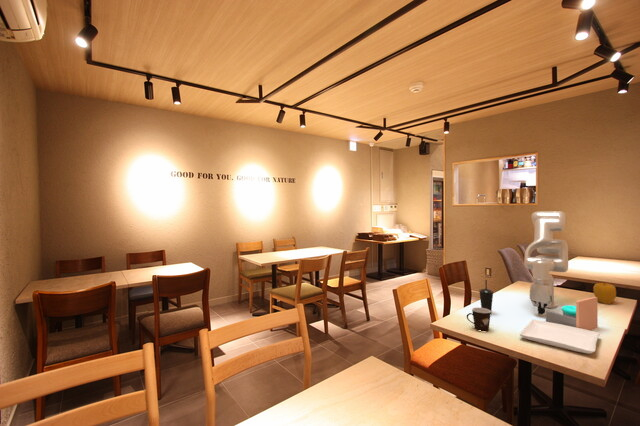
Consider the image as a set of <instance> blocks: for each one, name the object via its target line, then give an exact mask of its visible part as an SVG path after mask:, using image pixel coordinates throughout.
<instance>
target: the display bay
mask: <svg viewBox="0 0 640 426" xmlns="http://www.w3.org/2000/svg"><path fill="white" fill-rule="evenodd" d="M575 306H576V316H572V315H568V314H566V313H564V312H563V311H562V313H558V312H554V311H551V310H545V322H550V323H556V324H561V325H566V326H571V327H576V328H580V329H585V330H589V331H594V330H596V329H598V328H599V327H598V324H599V323H598V321H599V320H598V300H597V297H595V296H592V297H588V298H584V299H579V300H576V301H575Z"/></svg>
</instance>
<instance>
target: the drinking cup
mask: <svg viewBox="0 0 640 426" xmlns="http://www.w3.org/2000/svg"><path fill="white" fill-rule="evenodd" d="M484 283H485V285H484V286H485V287H483V288H480V289H478V292H479V299H480V308H485V309H488V310H490V311H491V312H492V311H493V310H492V308H493V307H492V306H493V298H494V290H492V289H490V288H488V285H487V284H488V283H487V279H485V282H484Z"/></svg>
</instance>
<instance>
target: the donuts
mask: <svg viewBox="0 0 640 426" xmlns="http://www.w3.org/2000/svg"><path fill="white" fill-rule="evenodd" d="M561 311H562V313H563V312H564V313H566V314H568V315H572V316H576V305H571V304H570V305H569V304H568V305H563V306H561Z"/></svg>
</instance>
